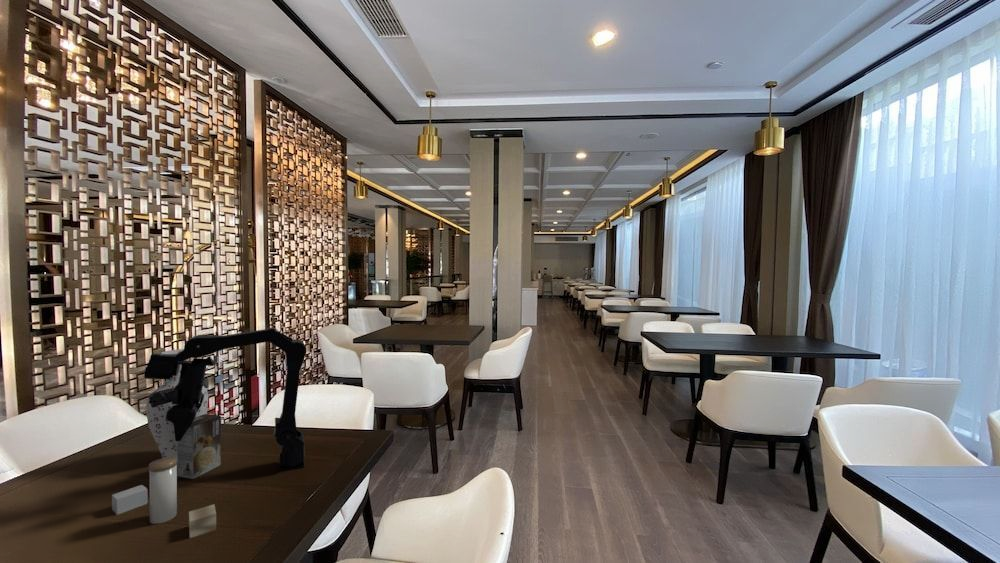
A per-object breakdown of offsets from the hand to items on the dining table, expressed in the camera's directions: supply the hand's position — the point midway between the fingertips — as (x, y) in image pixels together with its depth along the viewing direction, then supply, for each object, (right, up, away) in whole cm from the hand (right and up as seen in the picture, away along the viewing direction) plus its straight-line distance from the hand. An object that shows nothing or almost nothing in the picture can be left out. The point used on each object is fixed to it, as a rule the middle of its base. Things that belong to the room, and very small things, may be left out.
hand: (180, 435), depth 114 cm
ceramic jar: (+6, -15, -13) cm, 21 cm away
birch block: (+19, -16, -18) cm, 30 cm away
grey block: (-6, -15, -9) cm, 19 cm away
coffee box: (-2, -15, +10) cm, 18 cm away
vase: (-17, -15, +20) cm, 30 cm away
